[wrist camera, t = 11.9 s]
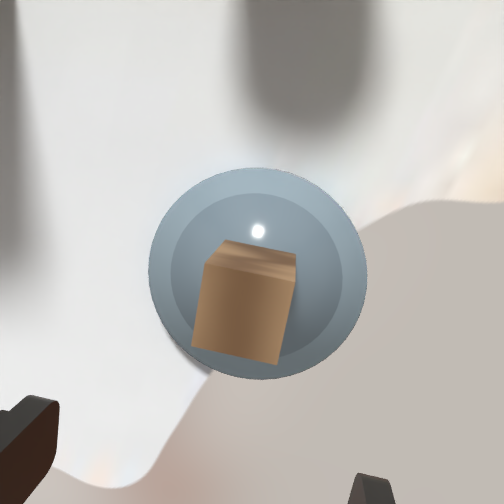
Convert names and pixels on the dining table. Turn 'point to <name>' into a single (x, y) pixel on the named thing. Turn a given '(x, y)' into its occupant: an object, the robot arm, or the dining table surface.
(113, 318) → the dining table surface
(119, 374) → the dining table surface
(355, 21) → the dining table surface
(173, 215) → the dish
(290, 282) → the block
